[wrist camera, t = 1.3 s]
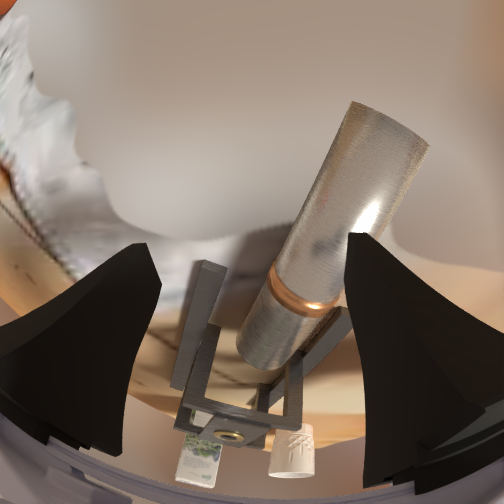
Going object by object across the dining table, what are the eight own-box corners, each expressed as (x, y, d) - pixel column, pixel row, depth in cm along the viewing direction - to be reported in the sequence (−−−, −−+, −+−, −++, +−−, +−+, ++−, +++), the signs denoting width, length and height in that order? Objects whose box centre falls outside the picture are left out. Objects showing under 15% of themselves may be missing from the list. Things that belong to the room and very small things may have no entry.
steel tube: (341, 99, 14) (363, 101, 10) (409, 137, 14) (447, 156, 10) (239, 316, 25) (230, 361, 21) (290, 332, 25) (288, 377, 21)
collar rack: (358, 311, 23) (375, 406, 15) (264, 407, 37) (257, 463, 29) (204, 259, 22) (163, 358, 14) (171, 381, 35) (153, 437, 27)
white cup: (316, 419, 38) (314, 471, 30) (315, 432, 43) (314, 477, 34) (270, 420, 40) (264, 471, 32) (275, 433, 44) (270, 477, 36)
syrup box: (192, 408, 41) (173, 480, 29) (195, 397, 37) (174, 478, 25) (223, 416, 41) (209, 489, 29) (230, 406, 38) (215, 488, 26)
